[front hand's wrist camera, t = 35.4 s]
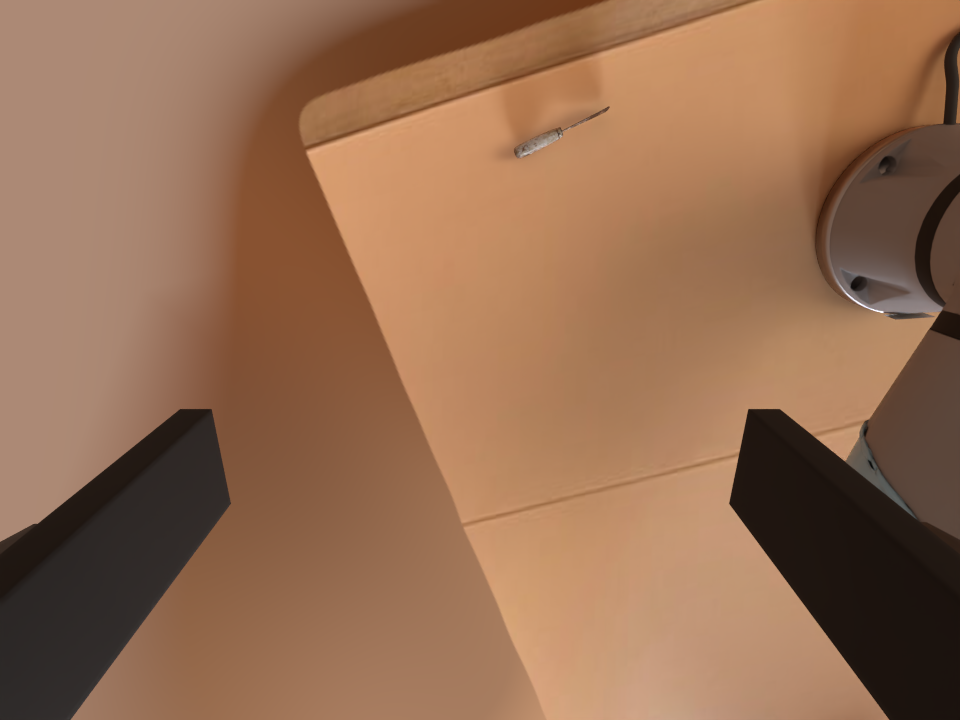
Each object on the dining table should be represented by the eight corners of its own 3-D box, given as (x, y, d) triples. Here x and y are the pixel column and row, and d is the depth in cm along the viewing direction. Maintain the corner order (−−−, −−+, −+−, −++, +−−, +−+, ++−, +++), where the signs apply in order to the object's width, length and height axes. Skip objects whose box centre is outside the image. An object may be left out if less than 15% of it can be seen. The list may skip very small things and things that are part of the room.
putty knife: (512, 148, 42) (513, 148, 40) (603, 101, 41) (608, 98, 39) (517, 160, 42) (518, 160, 41) (608, 113, 41) (613, 111, 40)
